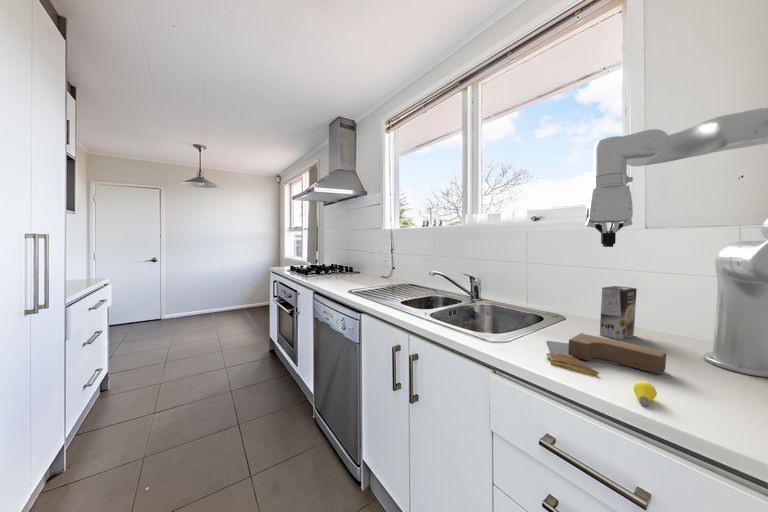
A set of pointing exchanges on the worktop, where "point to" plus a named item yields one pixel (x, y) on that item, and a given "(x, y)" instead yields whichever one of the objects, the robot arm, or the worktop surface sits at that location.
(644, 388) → the light bulb
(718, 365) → the robot arm
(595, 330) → the worktop surface
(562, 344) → the mat
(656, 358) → the wooden block
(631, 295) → the coffee box
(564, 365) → the sandwich
